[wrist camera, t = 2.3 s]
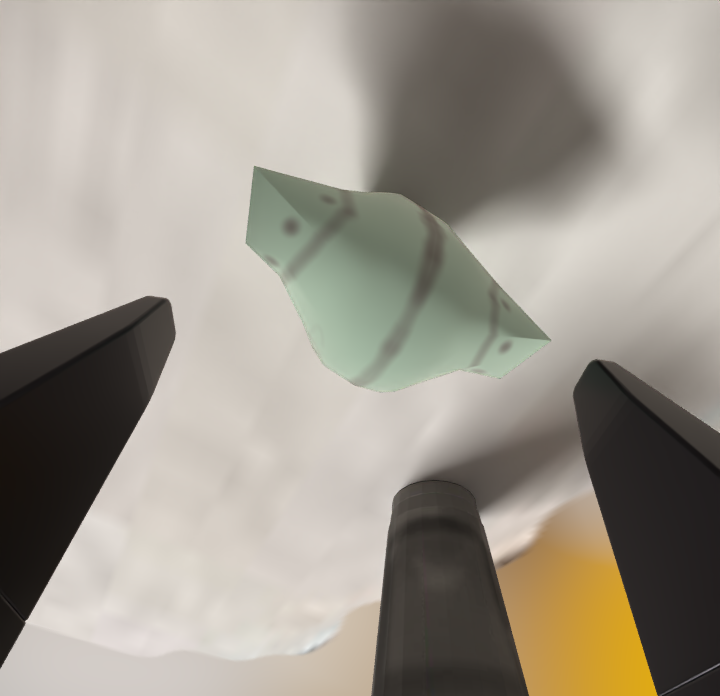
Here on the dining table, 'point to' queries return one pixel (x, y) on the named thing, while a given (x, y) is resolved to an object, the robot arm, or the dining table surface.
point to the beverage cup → (442, 602)
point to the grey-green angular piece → (384, 285)
